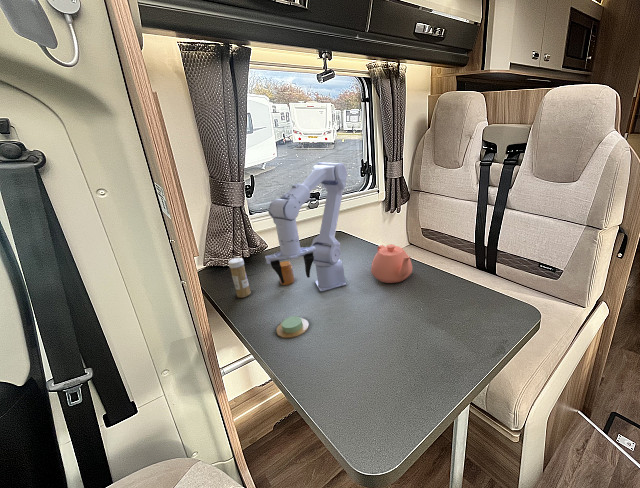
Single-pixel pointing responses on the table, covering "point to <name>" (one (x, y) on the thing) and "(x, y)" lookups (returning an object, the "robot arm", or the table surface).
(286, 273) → the jar
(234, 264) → the sprinkles bottle
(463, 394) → the table surface
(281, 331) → the coaster
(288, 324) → the lid
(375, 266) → the teapot
